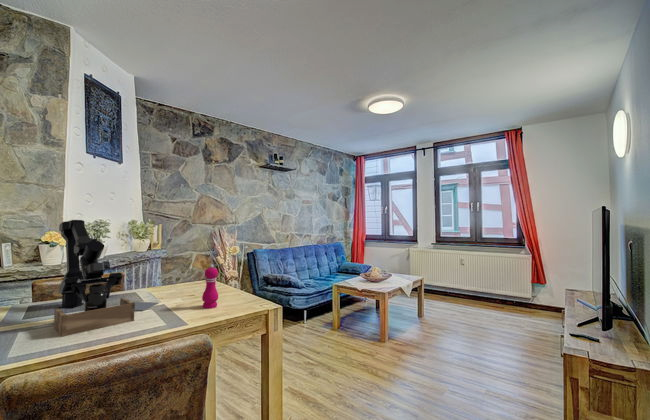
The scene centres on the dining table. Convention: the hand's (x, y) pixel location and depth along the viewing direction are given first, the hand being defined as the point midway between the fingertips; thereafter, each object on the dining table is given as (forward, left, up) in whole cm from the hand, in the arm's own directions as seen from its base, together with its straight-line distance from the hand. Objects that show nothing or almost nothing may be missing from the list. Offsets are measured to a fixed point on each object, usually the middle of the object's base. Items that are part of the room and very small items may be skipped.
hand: (97, 299), depth 117 cm
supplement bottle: (-1, +1, -7) cm, 7 cm away
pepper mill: (+33, +28, -10) cm, 44 cm away
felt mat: (+1, +24, -10) cm, 26 cm away
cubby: (-1, +1, -10) cm, 10 cm away
